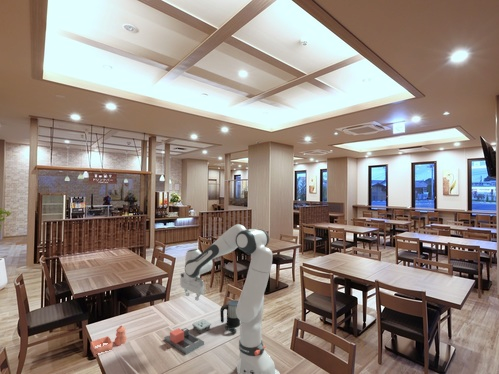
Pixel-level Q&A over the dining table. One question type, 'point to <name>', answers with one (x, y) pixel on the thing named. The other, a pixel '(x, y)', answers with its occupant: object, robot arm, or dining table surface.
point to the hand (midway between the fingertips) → (192, 297)
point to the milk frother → (230, 315)
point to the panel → (186, 343)
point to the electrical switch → (201, 326)
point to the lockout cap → (177, 335)
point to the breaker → (185, 331)
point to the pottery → (109, 342)
